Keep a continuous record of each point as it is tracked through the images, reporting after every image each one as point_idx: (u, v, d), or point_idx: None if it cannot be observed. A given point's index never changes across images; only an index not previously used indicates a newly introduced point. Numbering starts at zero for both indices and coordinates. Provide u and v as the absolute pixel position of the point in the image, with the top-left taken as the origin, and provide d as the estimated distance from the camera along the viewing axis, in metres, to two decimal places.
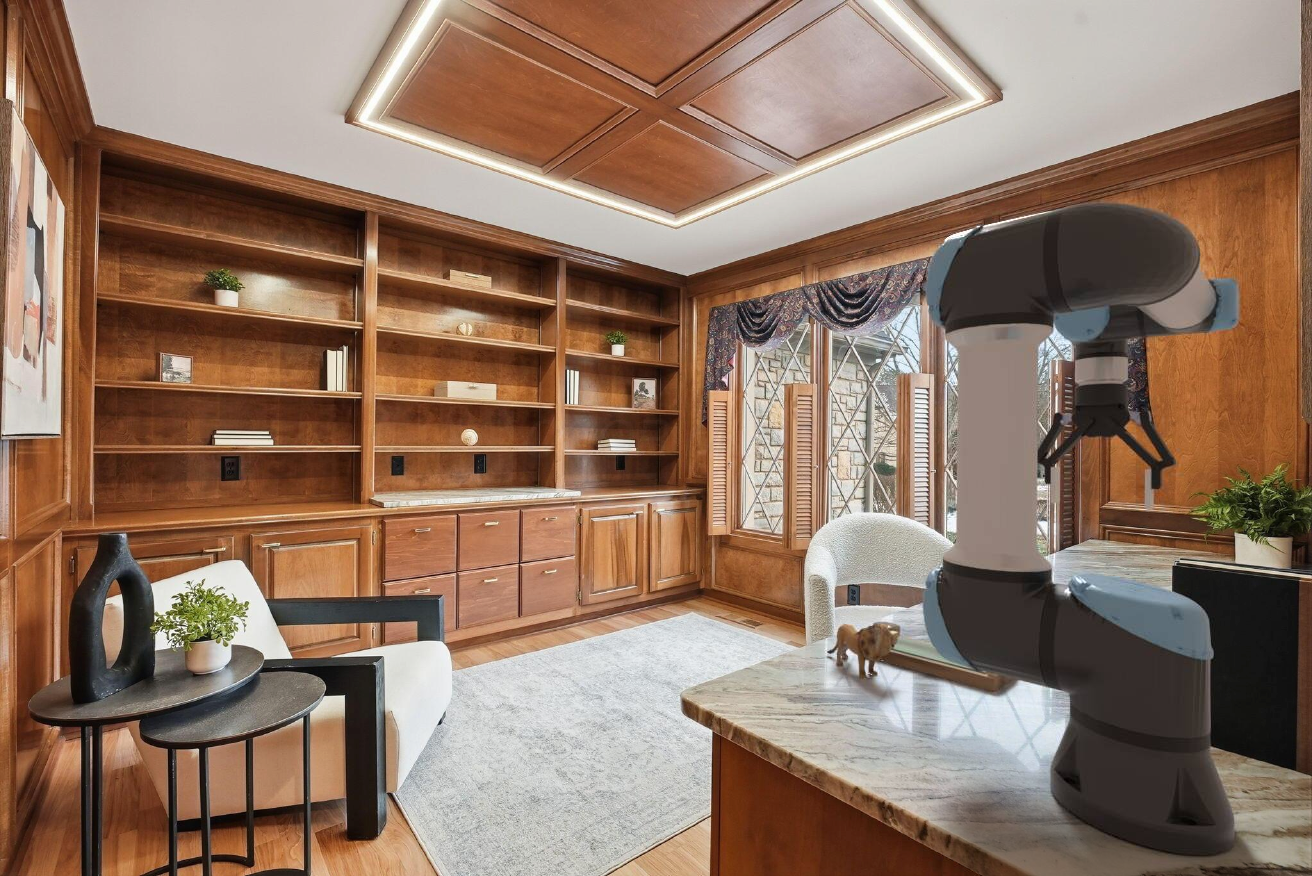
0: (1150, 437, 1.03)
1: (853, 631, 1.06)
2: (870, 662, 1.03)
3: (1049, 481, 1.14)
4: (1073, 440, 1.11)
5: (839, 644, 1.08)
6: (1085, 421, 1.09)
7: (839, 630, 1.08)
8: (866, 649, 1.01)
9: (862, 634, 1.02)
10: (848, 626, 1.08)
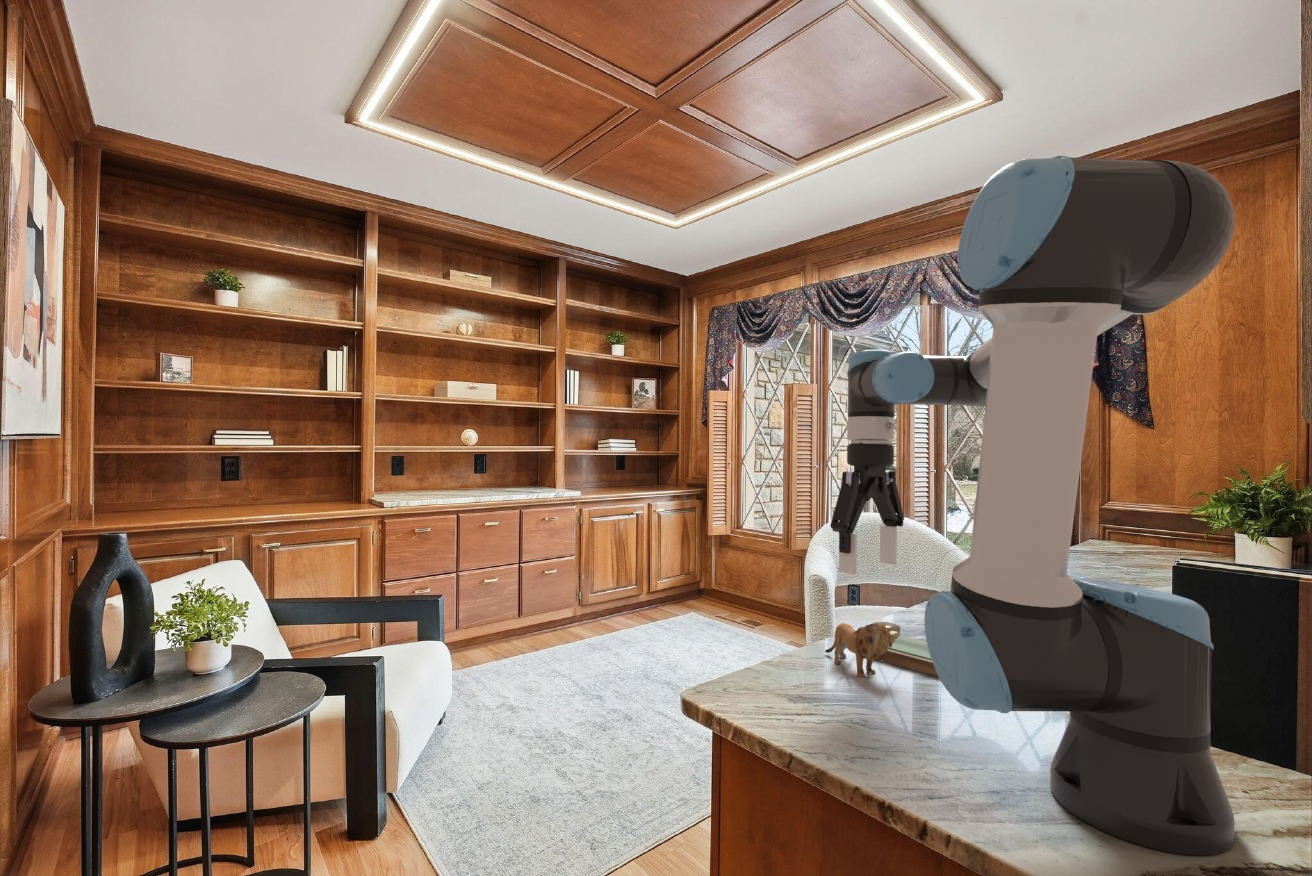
0: None
1: (851, 630, 1.06)
2: (868, 661, 1.04)
3: None
4: None
5: (837, 643, 1.08)
6: None
7: (837, 629, 1.09)
8: (864, 648, 1.01)
9: (859, 633, 1.03)
10: (846, 625, 1.08)
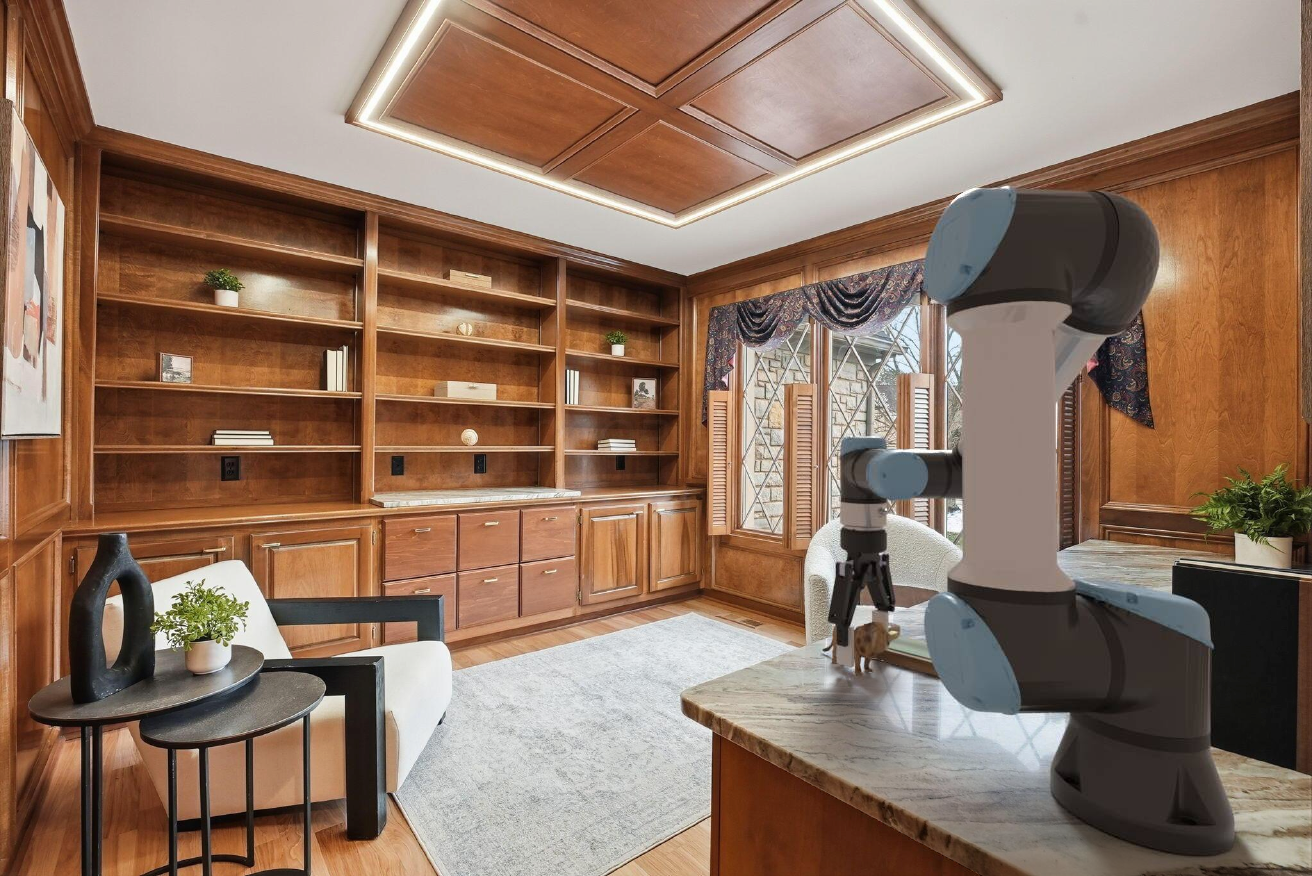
0: None
1: None
2: (866, 659, 1.04)
3: None
4: (866, 582, 1.09)
5: (835, 642, 1.09)
6: None
7: (835, 628, 1.10)
8: (862, 647, 1.02)
9: (857, 632, 1.03)
10: None
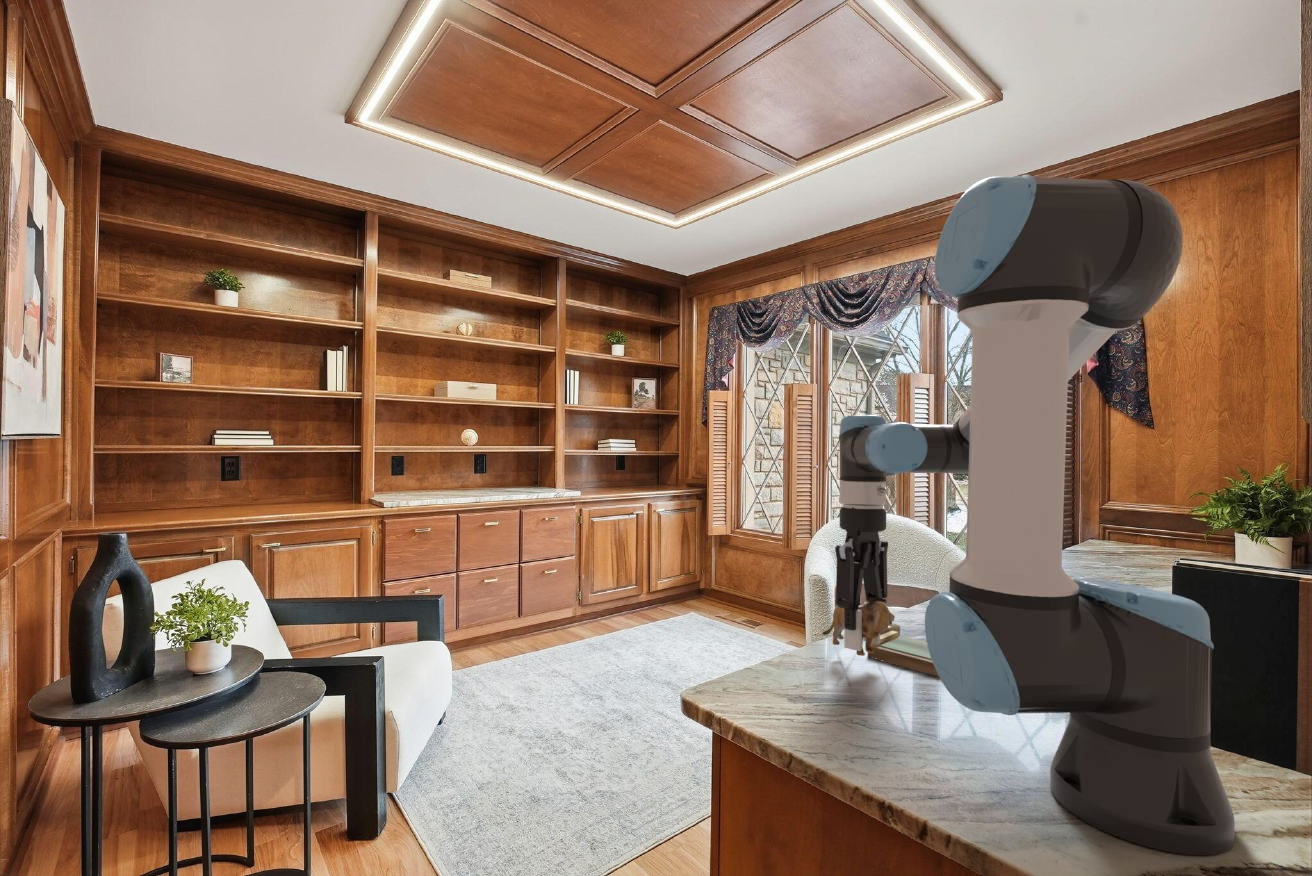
0: None
1: None
2: (867, 640, 1.04)
3: None
4: None
5: (836, 624, 1.09)
6: None
7: (836, 610, 1.09)
8: (864, 626, 1.02)
9: None
10: None
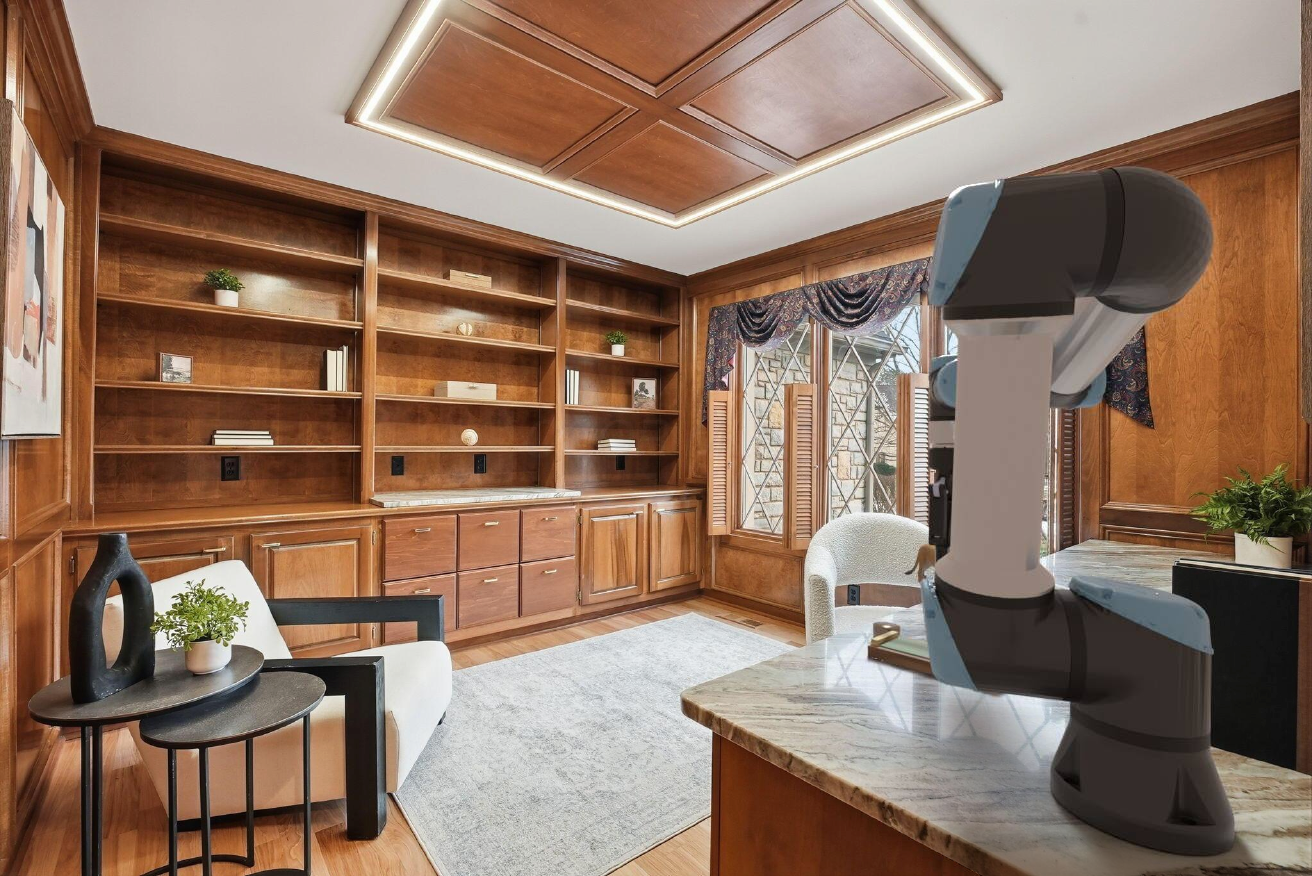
0: None
1: None
2: None
3: None
4: None
5: (921, 563, 1.10)
6: None
7: (921, 549, 1.11)
8: None
9: None
10: (930, 545, 1.10)
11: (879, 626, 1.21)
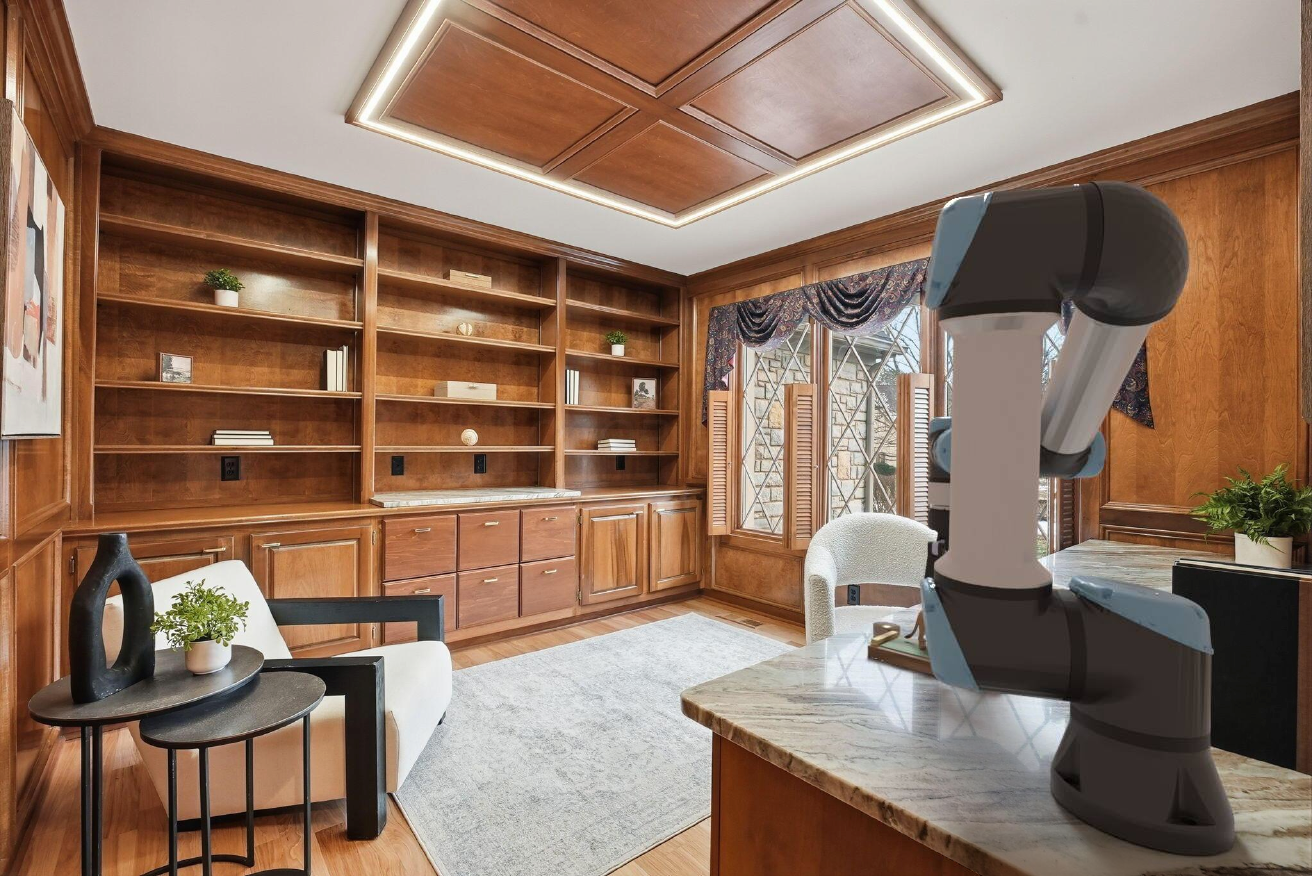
0: None
1: None
2: None
3: None
4: None
5: (922, 628, 1.10)
6: None
7: (921, 614, 1.11)
8: None
9: None
10: None
11: (879, 626, 1.21)
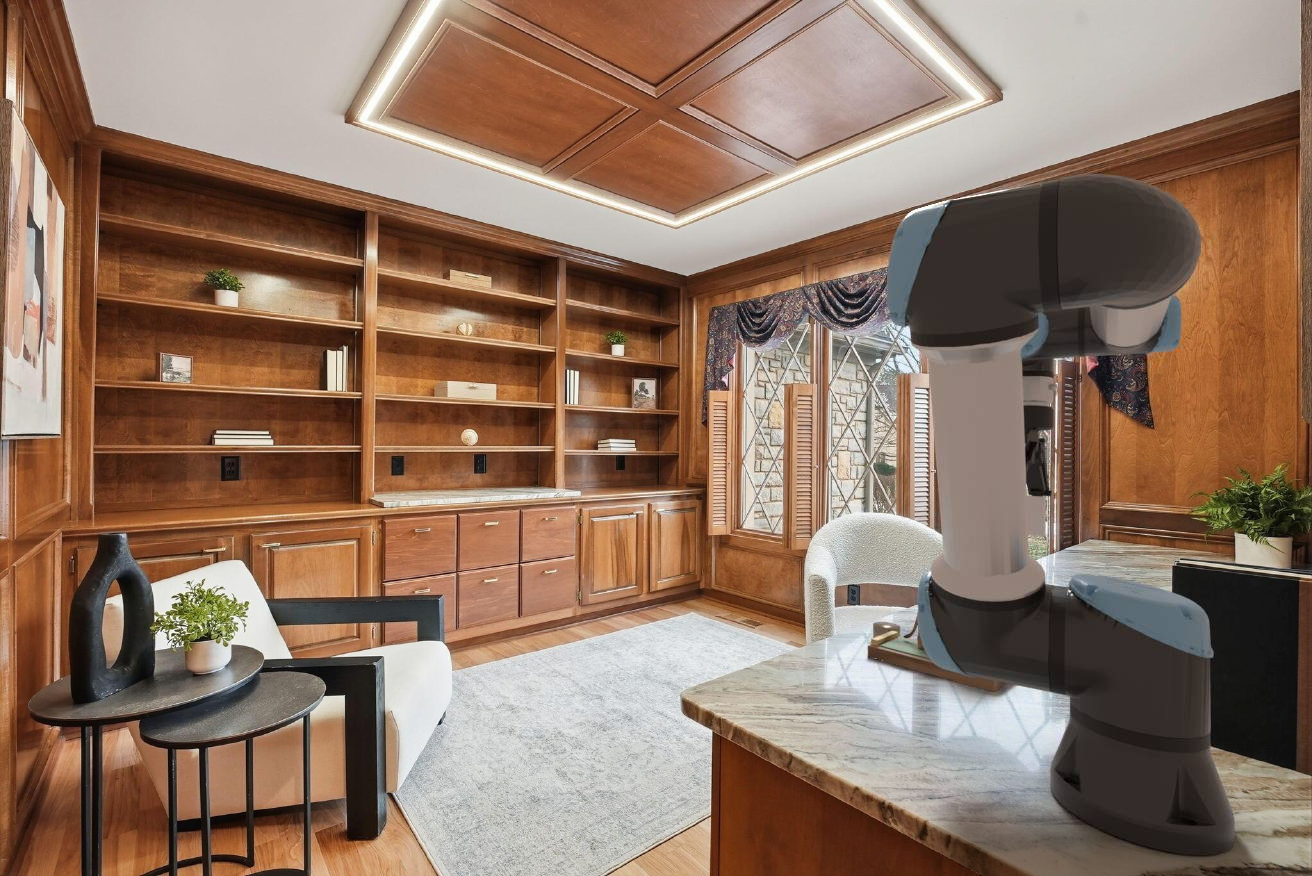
0: None
1: None
2: None
3: None
4: None
5: None
6: None
7: None
8: None
9: None
10: None
11: (879, 626, 1.21)
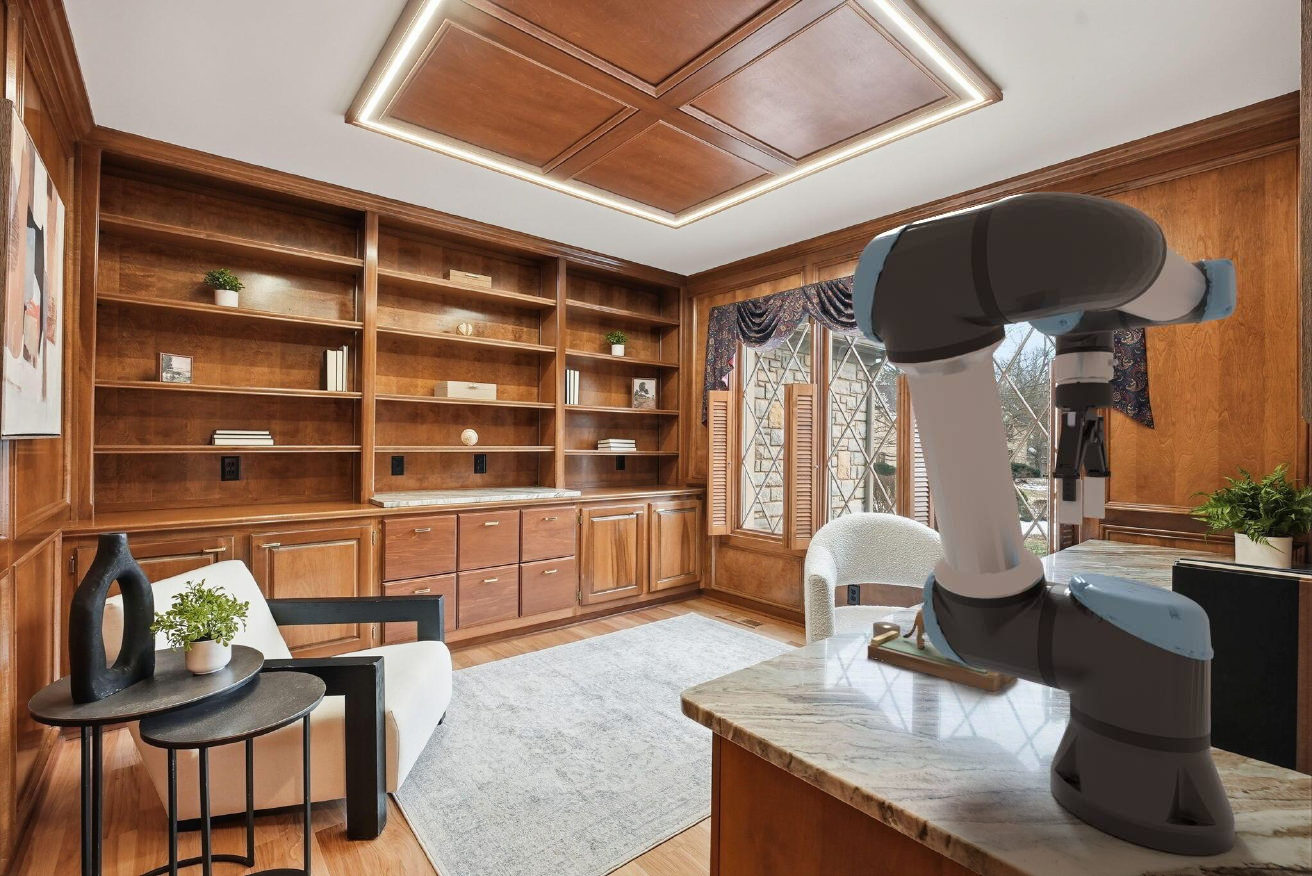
0: None
1: None
2: None
3: None
4: None
5: (920, 628, 1.10)
6: None
7: (919, 614, 1.11)
8: None
9: None
10: None
11: (879, 626, 1.21)
